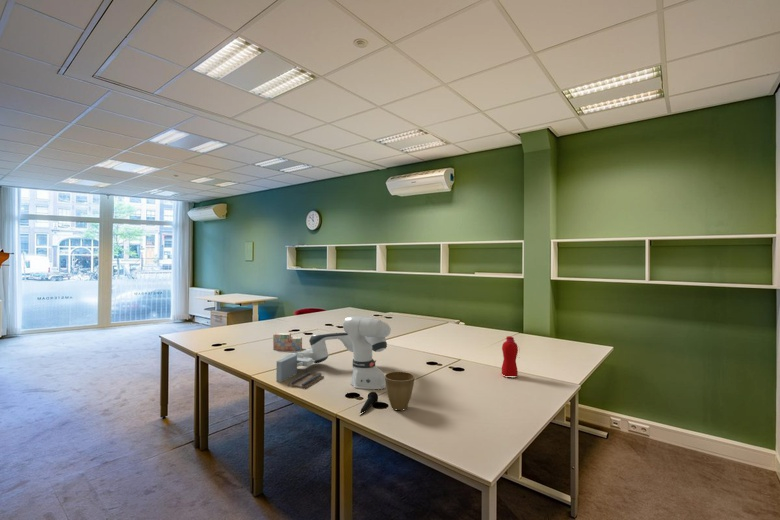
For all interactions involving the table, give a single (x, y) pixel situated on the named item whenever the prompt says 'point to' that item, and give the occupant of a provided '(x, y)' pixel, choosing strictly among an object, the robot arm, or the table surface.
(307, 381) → the track board
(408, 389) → the plant pot
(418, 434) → the table surface
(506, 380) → the table surface
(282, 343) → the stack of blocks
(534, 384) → the table surface
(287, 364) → the tall grey rectangular block
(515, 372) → the water bottle
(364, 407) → the microphone
